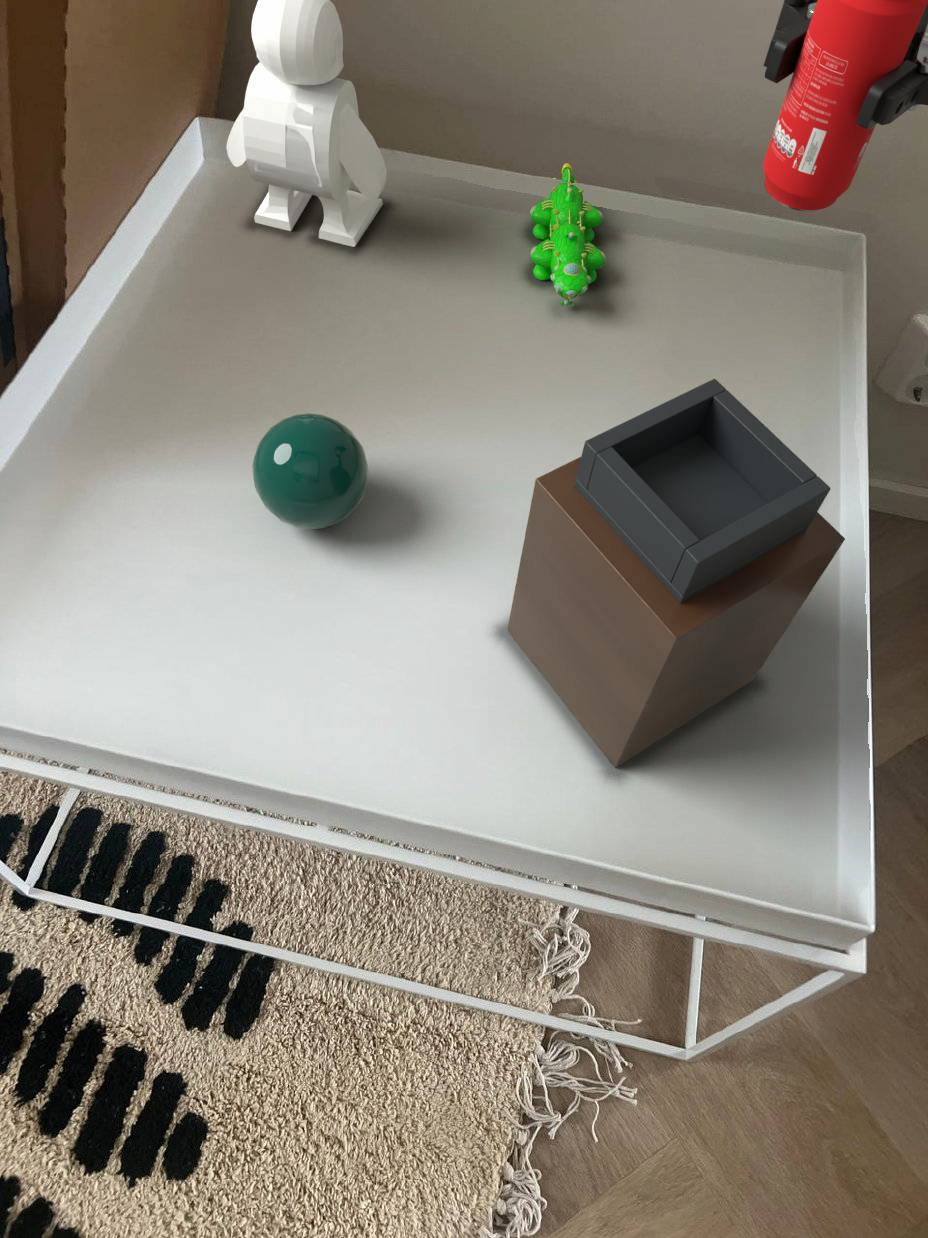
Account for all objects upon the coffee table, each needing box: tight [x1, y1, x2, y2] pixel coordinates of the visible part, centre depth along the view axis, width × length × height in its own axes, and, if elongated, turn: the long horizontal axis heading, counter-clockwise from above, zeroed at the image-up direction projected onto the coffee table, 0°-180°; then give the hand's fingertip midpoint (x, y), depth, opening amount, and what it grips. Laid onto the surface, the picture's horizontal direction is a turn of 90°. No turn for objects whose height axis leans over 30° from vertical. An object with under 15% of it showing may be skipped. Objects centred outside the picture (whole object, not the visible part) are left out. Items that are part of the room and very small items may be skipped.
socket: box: [574, 378, 831, 604], centre depth 51 cm, size 9×9×4 cm
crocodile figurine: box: [529, 162, 607, 307], centre depth 87 cm, size 7×18×4 cm, turn 178°
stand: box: [506, 456, 846, 769], centre depth 60 cm, size 12×12×16 cm
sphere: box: [251, 412, 369, 530], centre depth 68 cm, size 8×8×8 cm
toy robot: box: [225, 0, 387, 248], centre depth 80 cm, size 14×9×20 cm, turn 73°
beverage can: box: [762, 0, 928, 213], centre depth 53 cm, size 5×5×12 cm
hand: (821, 85), depth 51 cm, fingers closed on beverage can, 5 cm apart
